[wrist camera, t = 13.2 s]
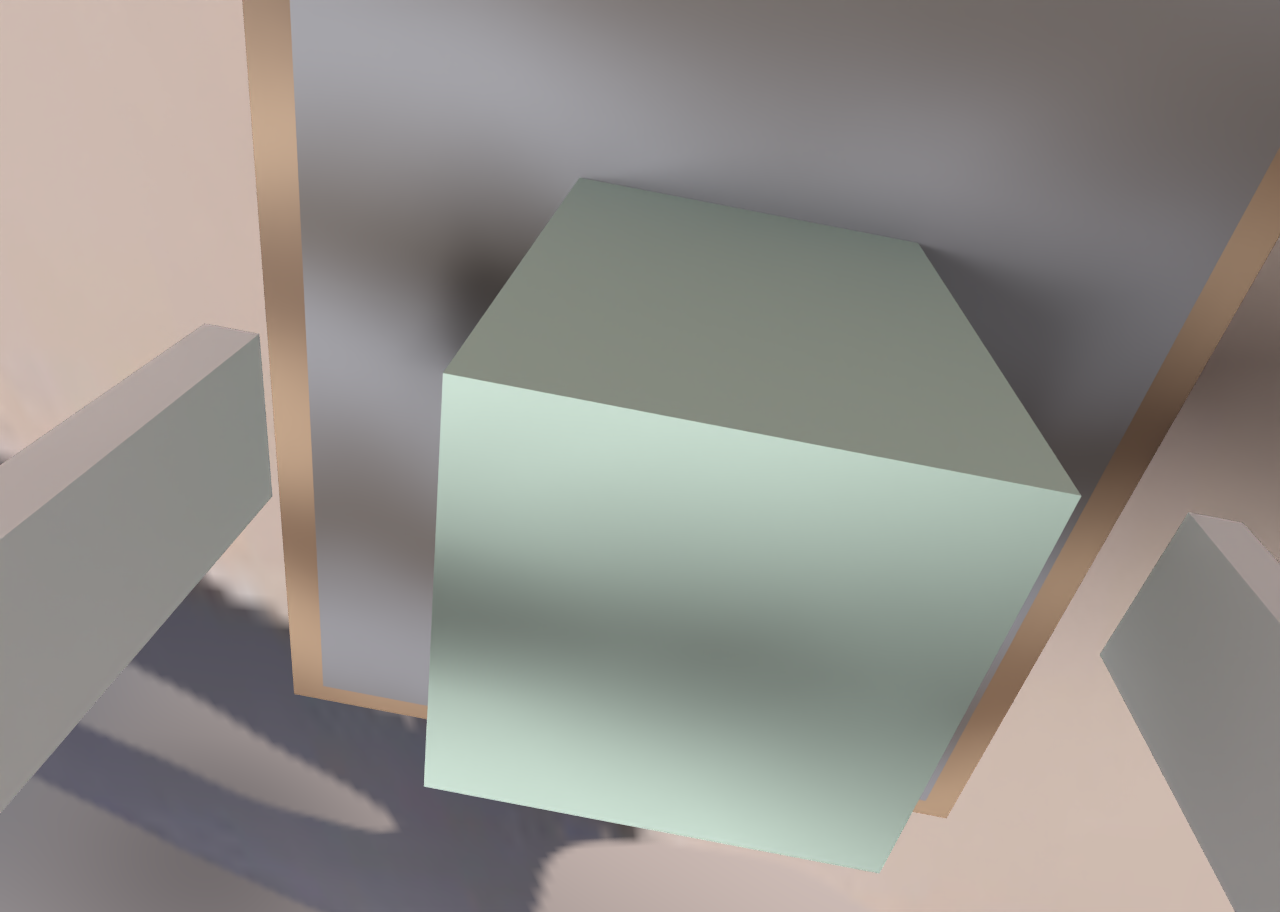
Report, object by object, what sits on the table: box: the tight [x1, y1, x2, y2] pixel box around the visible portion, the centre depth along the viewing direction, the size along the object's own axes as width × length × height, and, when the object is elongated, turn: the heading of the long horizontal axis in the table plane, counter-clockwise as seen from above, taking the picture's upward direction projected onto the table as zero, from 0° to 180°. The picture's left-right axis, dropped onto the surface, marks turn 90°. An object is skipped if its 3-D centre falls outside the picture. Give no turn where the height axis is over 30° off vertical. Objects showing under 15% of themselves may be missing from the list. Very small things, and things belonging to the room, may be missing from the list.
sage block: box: [424, 178, 1081, 873], centre depth 13 cm, size 6×6×8 cm
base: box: [242, 0, 1280, 818], centre depth 18 cm, size 24×18×4 cm
